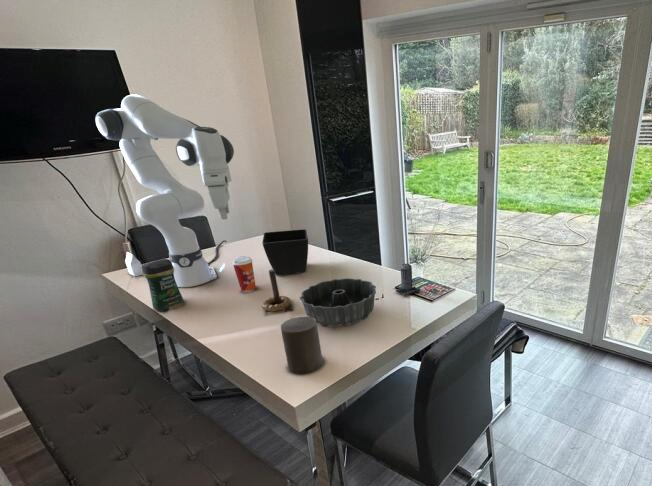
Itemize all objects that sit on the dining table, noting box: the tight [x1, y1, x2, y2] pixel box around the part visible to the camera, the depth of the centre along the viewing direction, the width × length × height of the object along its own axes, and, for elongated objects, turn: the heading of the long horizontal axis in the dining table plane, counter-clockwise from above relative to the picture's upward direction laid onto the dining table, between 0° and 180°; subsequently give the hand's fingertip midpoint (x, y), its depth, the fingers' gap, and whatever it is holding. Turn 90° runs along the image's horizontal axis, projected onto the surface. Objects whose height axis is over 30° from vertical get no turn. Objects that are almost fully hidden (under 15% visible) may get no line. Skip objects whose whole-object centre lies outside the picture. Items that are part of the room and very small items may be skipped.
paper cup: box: [231, 255, 256, 292], centre depth 168 cm, size 8×8×14 cm
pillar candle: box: [280, 315, 324, 375], centre depth 117 cm, size 10×10×15 cm
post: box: [265, 269, 293, 313], centre depth 152 cm, size 9×9×15 cm
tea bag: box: [124, 251, 143, 277], centre depth 188 cm, size 4×7×10 cm, turn 54°
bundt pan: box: [299, 277, 377, 328], centre depth 146 cm, size 26×26×10 cm
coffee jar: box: [141, 257, 184, 312], centre depth 154 cm, size 10×8×19 cm
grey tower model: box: [395, 263, 421, 297], centre depth 164 cm, size 9×8×12 cm
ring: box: [261, 295, 292, 312], centre depth 153 cm, size 10×10×2 cm
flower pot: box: [261, 228, 309, 276], centre depth 189 cm, size 19×19×17 cm
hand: (225, 216), depth 147 cm, fingers open, 8 cm apart
